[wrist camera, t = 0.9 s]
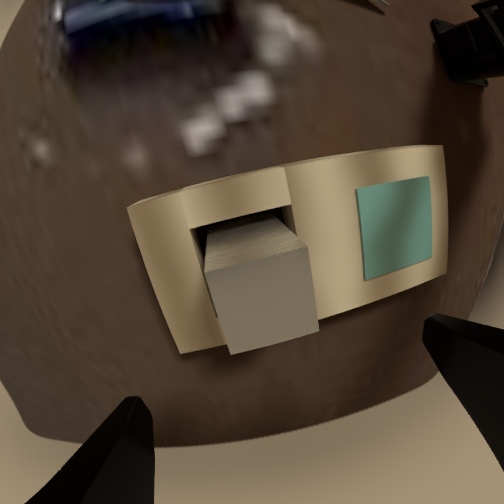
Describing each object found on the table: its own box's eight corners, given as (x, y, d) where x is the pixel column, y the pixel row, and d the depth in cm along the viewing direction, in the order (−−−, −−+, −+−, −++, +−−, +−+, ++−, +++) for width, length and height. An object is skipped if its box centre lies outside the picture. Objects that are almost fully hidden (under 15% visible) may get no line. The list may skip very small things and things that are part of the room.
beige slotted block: (418, 144, 19) (444, 145, 16) (425, 260, 22) (447, 273, 19) (140, 200, 17) (125, 208, 14) (183, 329, 21) (180, 355, 18)
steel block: (270, 211, 19) (307, 246, 11) (281, 269, 20) (319, 331, 13) (208, 227, 19) (204, 272, 11) (223, 284, 20) (230, 354, 12)
